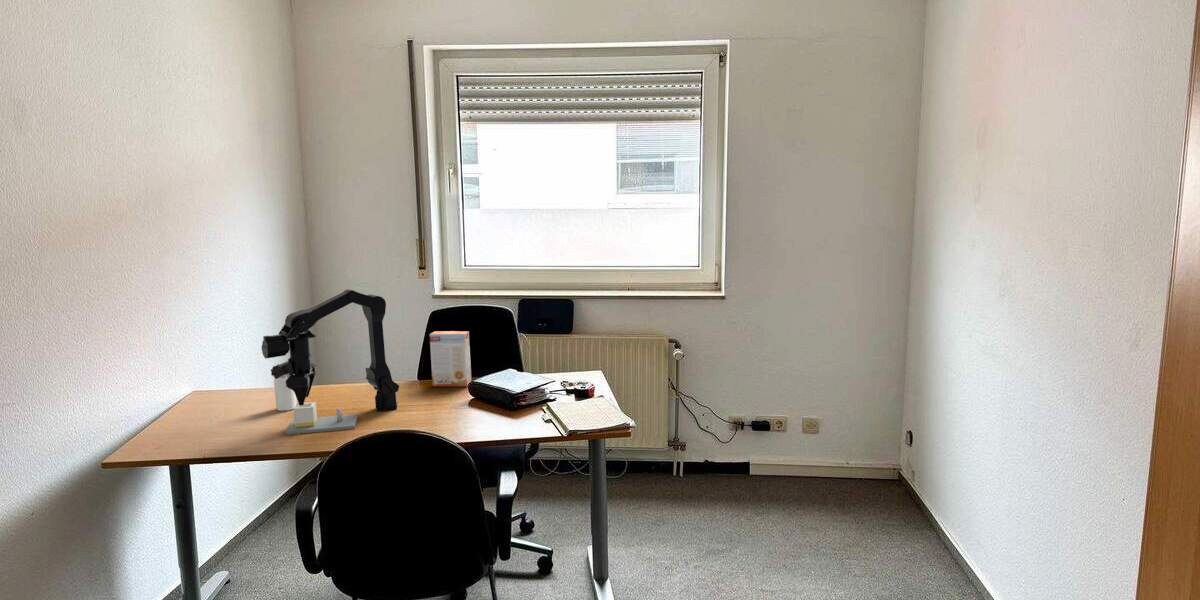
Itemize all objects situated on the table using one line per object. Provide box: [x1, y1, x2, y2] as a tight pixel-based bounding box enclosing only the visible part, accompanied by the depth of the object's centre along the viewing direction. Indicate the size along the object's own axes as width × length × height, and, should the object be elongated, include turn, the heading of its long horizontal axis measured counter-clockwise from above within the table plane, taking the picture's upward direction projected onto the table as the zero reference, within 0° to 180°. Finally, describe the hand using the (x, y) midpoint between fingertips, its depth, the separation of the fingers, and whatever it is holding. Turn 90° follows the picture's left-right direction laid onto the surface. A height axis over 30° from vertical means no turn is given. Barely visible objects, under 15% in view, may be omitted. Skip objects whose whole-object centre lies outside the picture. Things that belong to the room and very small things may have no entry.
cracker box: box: [429, 330, 472, 388], centre depth 258 cm, size 14×6×21 cm, turn 83°
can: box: [273, 373, 298, 412], centre depth 232 cm, size 6×6×12 cm
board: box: [285, 407, 359, 436], centre depth 215 cm, size 20×12×5 cm, turn 105°
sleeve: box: [293, 401, 318, 427], centre depth 213 cm, size 6×6×6 cm
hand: (303, 401), depth 212 cm, fingers open, 9 cm apart
